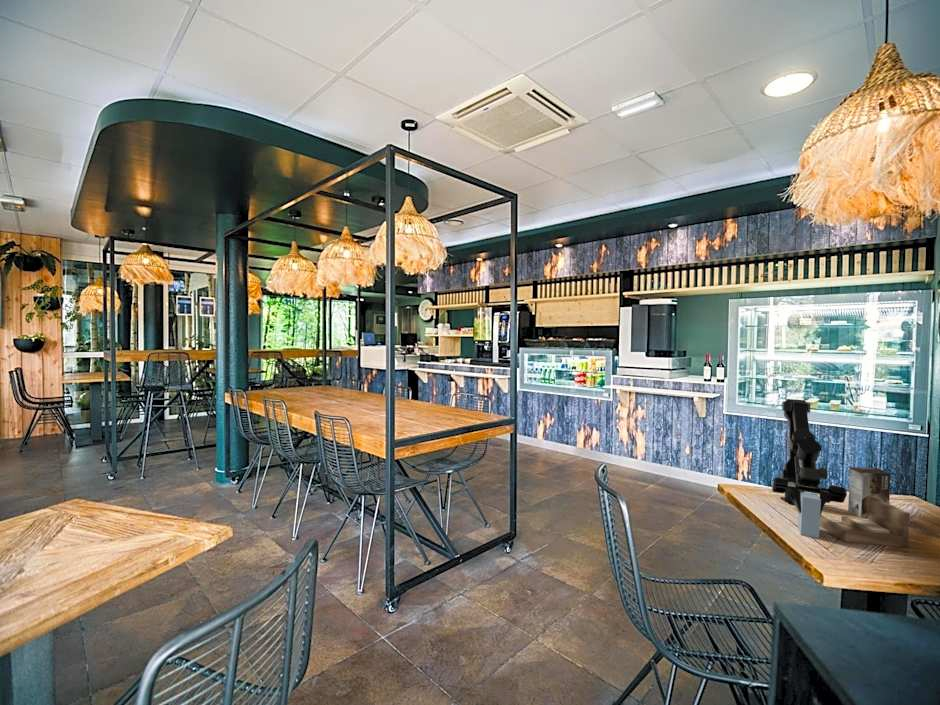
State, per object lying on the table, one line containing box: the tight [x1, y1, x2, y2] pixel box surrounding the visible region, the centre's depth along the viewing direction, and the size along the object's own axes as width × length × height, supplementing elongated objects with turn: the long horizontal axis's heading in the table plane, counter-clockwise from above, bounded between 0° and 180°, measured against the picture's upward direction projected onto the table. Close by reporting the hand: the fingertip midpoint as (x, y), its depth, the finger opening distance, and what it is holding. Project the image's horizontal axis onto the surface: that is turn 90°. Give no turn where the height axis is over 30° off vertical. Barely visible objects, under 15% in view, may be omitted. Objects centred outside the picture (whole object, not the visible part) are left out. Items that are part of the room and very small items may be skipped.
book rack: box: [820, 497, 911, 548], centre depth 140 cm, size 14×17×10 cm
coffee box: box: [847, 466, 891, 519], centre depth 157 cm, size 9×6×16 cm
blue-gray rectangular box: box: [797, 492, 821, 539], centre depth 140 cm, size 6×4×12 cm
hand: (809, 513), depth 139 cm, fingers closed on blue-gray rectangular box, 4 cm apart
